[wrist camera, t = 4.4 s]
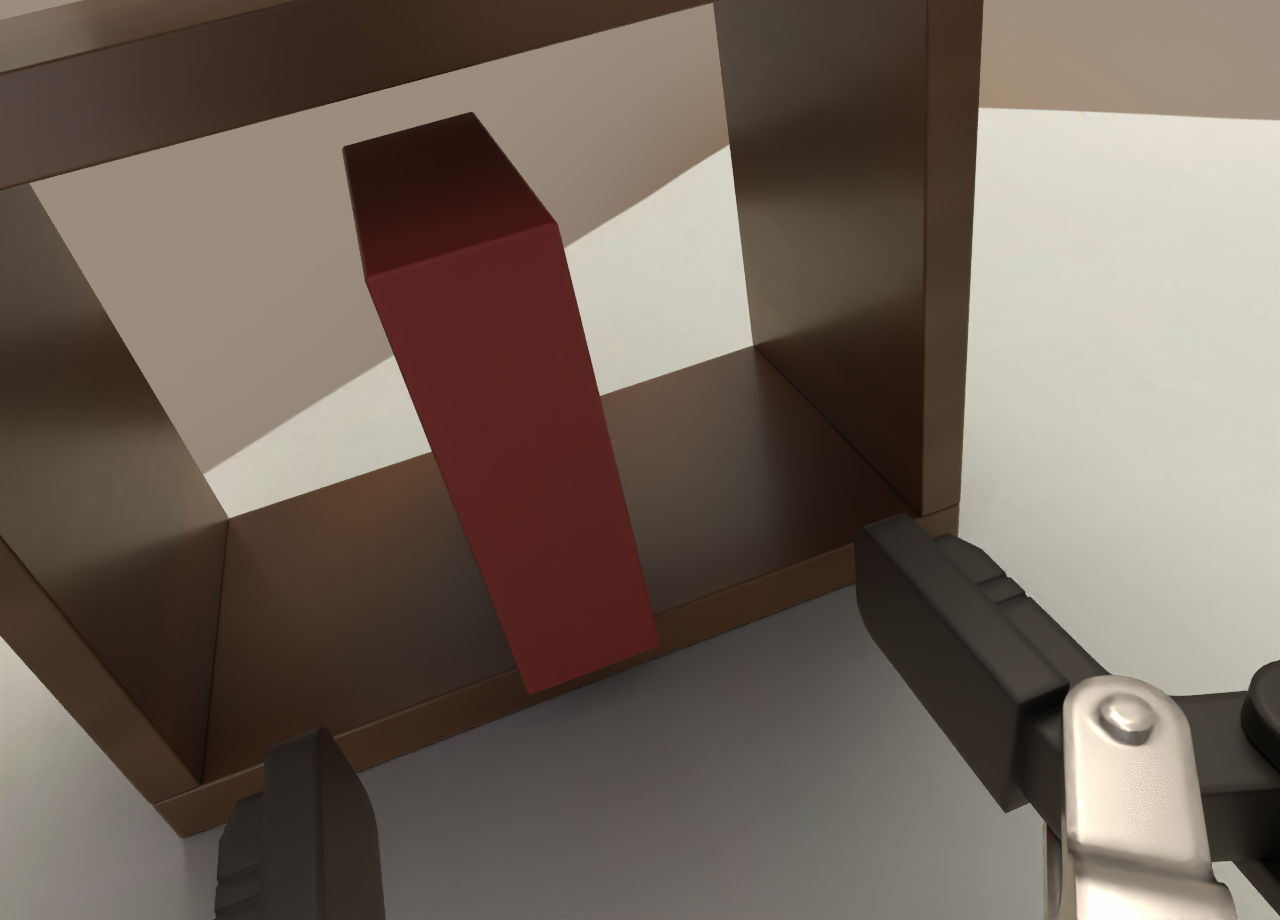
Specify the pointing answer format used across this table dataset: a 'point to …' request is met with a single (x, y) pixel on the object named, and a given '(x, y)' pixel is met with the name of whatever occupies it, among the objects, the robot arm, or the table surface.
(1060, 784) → the robot arm
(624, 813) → the table surface
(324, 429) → the table surface
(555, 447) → the book
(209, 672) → the bookcase
